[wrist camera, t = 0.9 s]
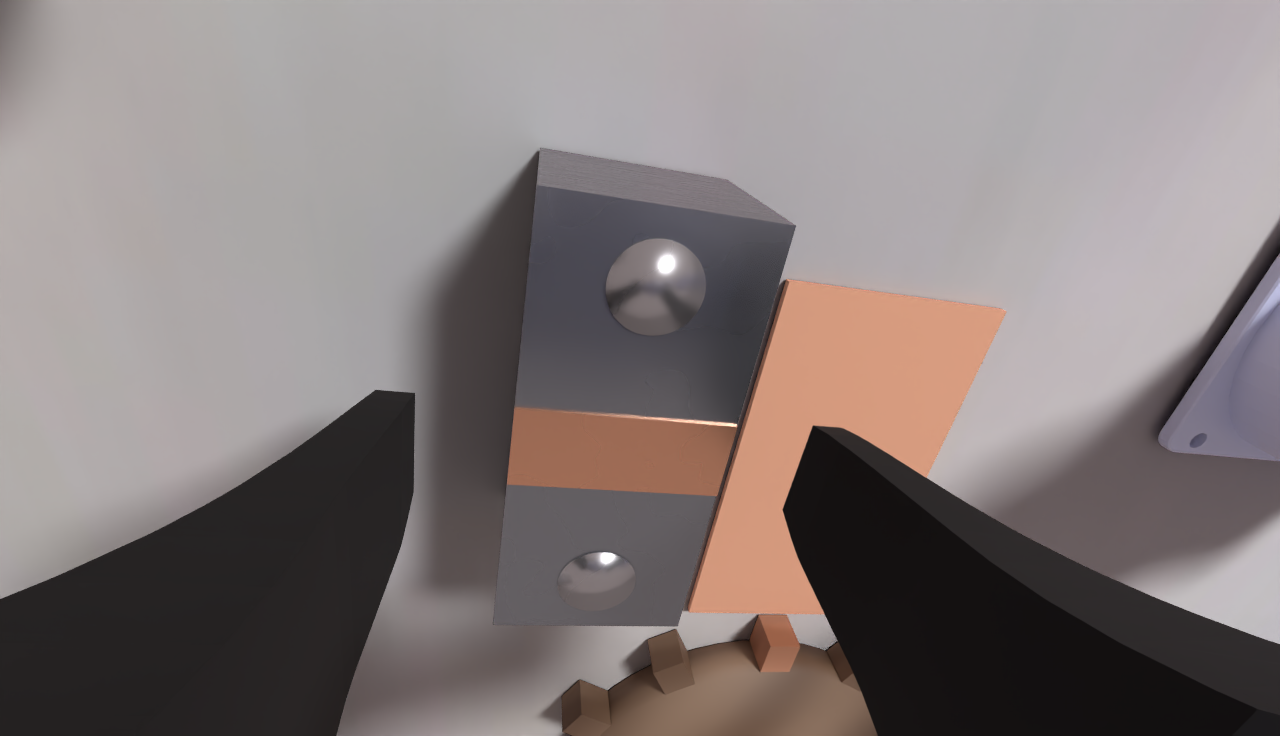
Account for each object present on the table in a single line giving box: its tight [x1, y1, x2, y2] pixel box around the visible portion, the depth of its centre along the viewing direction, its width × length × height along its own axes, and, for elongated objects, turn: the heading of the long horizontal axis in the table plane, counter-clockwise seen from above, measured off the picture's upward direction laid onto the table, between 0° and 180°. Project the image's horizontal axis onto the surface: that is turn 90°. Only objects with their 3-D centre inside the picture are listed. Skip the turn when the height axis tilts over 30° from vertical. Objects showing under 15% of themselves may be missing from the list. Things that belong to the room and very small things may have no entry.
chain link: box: [493, 148, 796, 626], centre depth 13 cm, size 4×9×4 cm, turn 170°
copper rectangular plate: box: [688, 279, 1006, 614], centre depth 17 cm, size 6×11×1 cm, turn 170°
